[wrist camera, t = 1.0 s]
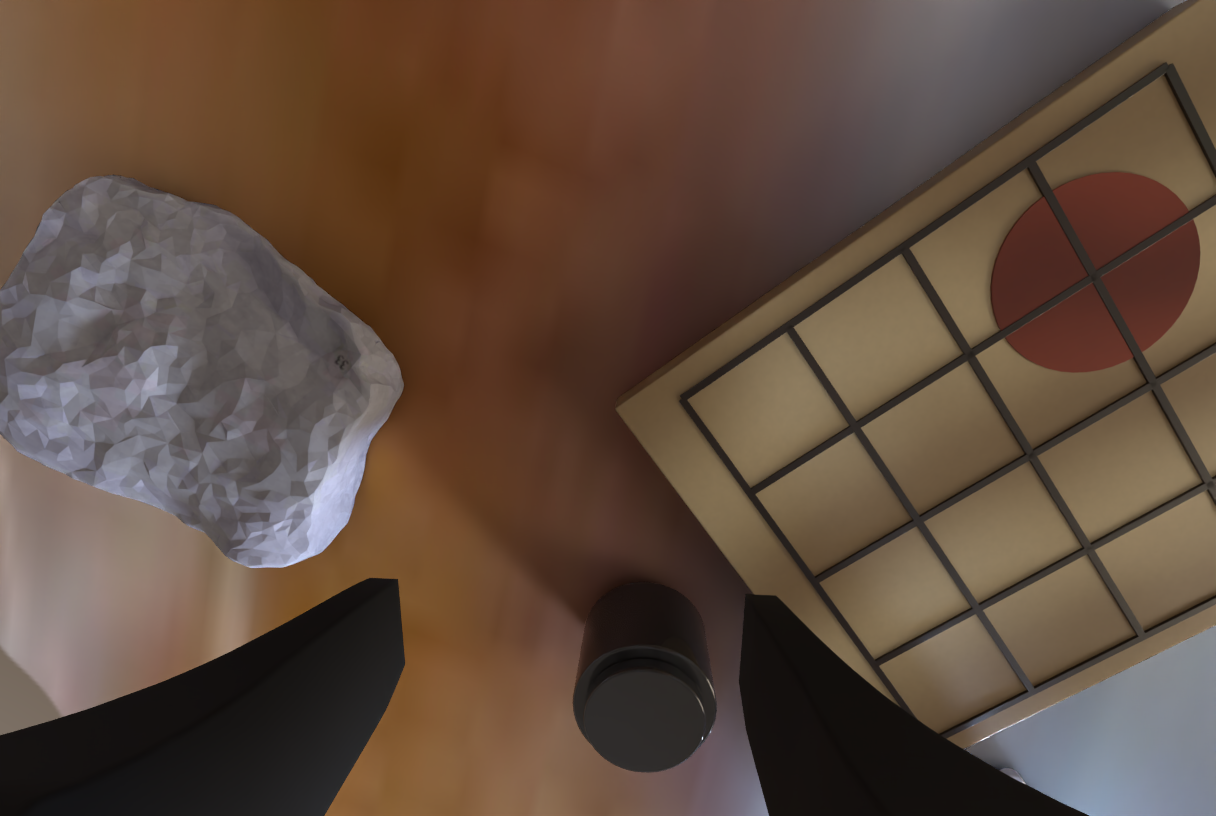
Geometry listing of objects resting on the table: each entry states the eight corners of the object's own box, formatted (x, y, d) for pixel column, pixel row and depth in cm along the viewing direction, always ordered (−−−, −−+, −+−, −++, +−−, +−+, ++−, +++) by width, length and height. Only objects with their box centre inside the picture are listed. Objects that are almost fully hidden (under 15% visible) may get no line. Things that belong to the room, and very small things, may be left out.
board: (1407, 484, 20) (1471, 503, 18) (879, 751, 24) (896, 786, 22) (1174, 5, 17) (1227, -20, 15) (616, 398, 21) (614, 409, 19)
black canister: (727, 639, 23) (748, 741, 18) (631, 695, 24) (627, 806, 19) (658, 551, 22) (662, 632, 17) (562, 611, 23) (540, 705, 18)
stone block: (168, 170, 21) (44, 408, 22) (54, 117, 17) (-101, 422, 17) (458, 333, 23) (336, 554, 23) (430, 326, 18) (276, 606, 18)
